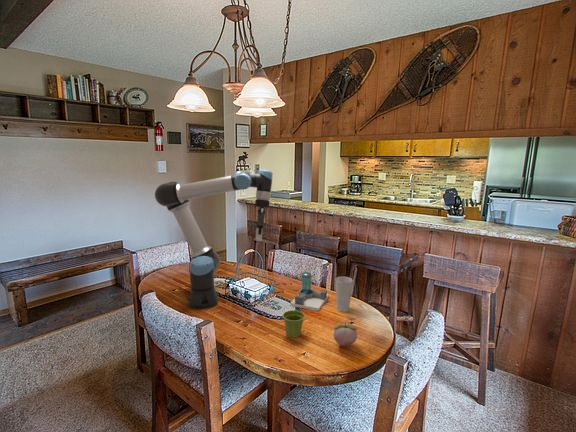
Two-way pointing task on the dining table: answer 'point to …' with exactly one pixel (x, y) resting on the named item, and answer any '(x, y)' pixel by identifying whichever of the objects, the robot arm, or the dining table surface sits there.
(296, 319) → the plant pot
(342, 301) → the cup
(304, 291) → the cylinder
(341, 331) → the decorative fruit
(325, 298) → the shaft board
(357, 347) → the dining table surface
